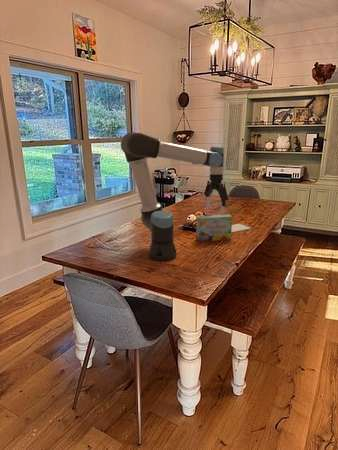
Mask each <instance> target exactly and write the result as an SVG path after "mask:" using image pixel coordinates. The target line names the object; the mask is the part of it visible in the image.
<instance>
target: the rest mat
mask: <svg viewBox="0 0 338 450" xmlns="http://www.w3.org/2000/svg"><path fill="white" fill-rule="evenodd" d="M251 229H253V227H252V226H249V225H247V224H244V223H241V222H239V223H236V224H235V223H234V224H232V230H231V234H233V233H238V232H242V231H243V232H244V231H246V230H247V231H248V230H251Z"/></svg>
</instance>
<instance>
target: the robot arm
mask: <svg viewBox="0 0 338 450" xmlns="http://www.w3.org/2000/svg"><path fill="white" fill-rule="evenodd" d="M120 148H121V151H122V152H123V153H124V155H125V159H126V163H129V165H130V167H131V170H132V174H133V177H134V181H135V185H136V187H137V192H138V195H139V199H140V203H141V208H140V213H141V216H140V219H141V222H142V225H144V227H146V228H147V229H148V230H149V231H150V234H151V237H150V238H151V241H150V245H149V249H148V253H147V255H148V257H149V258H150V259H151V260H154V261H159V262H167V261H170V260H171V261H172V260H174V259H175V258H176V257H177V254H178V253H177V250H176V247H175V242H174V215H173V213H171V212H170V211H166V210H163V208H162V204H161V203H159V202H158V200H157V196H156V192H155V188H154V184H153V180H152V177H151V172H150V168H149V164H148V161H147V160H148V158H150V159H158V158H162V159H166V160H168V159H169V160H173V161H180V162H184V163H188V164H189V163H190V164H192V165H201V166H206V167H209V173H210V174H209V180H207V183H206V186H205V190H204V192H203V195H204V196H205V202H206V203H205V207H206V208H210V207H211V198H212V196H211V195H212V194H213V191H216V192H217V193H218V195H219V197H220V204H219V205H220V208H219V209H220V210H219V212H220V213H224V212H225V211H226V203H227V201H228V200H229V196H228V192H227V189H226V188H227V187H226V183H225V182H224V183H222V181H223V179H224V175H223V174H224V158H225V157H224V155H225V151H224V150H225V148H224V147H223V146H222V145H221V146H220V145H219V146H218V145H214V146H210V149H209V150H204V149H202V148H201V149H200V148H195V147H192V146H191V147H190V146H185V145H181V144H175V143H171V142H166V141H163V140H160V138H157V137H153V136H150V135H147V134H145V133H142V132H128V133H126V134H125V135H123V137H122V138H121V141H120Z"/></svg>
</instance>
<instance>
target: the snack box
mask: <svg viewBox="0 0 338 450" xmlns="http://www.w3.org/2000/svg"><path fill="white" fill-rule="evenodd" d="M232 225H233V216H232V215H231V214H229V213H227V214H212V215H210V214H209V215H198V216H196V231H195V240H196V241H197V242H198V243H201V242H210V241H211V242H213V241H214V242H215V241H223V240H224V241H225V240H231V239H232V233H231V230H232Z"/></svg>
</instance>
